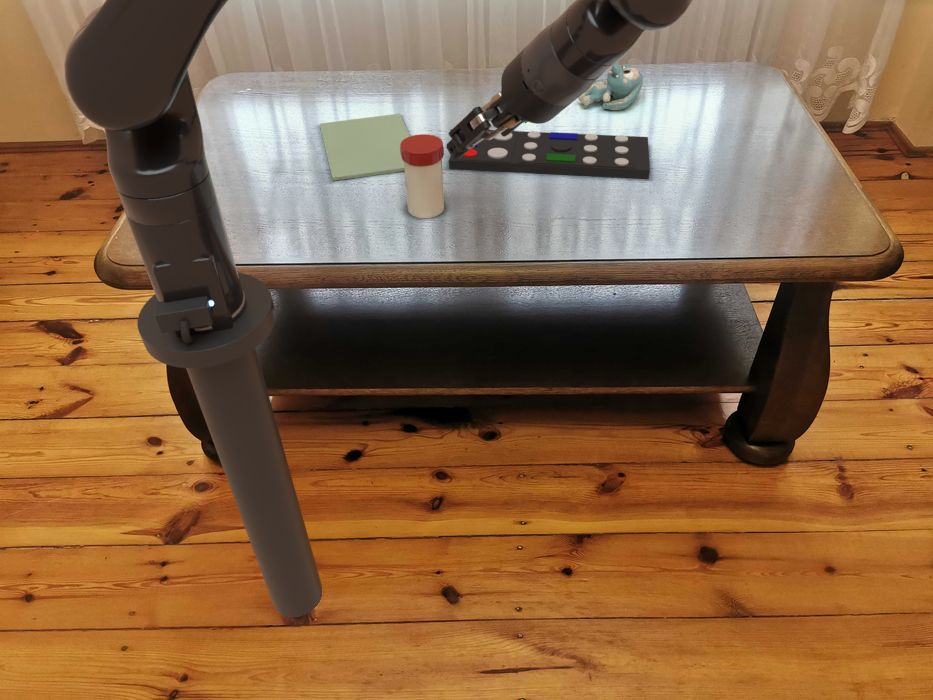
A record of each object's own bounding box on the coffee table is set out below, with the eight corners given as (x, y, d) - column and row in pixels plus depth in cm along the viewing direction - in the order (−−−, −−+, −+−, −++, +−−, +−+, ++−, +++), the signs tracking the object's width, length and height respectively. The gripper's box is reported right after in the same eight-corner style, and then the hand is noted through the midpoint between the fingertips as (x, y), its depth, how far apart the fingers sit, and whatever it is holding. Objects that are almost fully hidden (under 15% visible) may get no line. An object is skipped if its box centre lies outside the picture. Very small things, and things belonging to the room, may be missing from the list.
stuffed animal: (563, 67, 132) (623, 43, 133) (568, 104, 137) (625, 81, 138) (594, 89, 124) (656, 63, 126) (597, 127, 129) (657, 102, 131)
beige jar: (447, 215, 106) (444, 152, 99) (411, 220, 105) (406, 158, 98) (439, 197, 109) (436, 136, 103) (404, 202, 108) (399, 141, 102)
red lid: (447, 162, 100) (447, 150, 99) (405, 168, 99) (404, 155, 98) (438, 144, 104) (437, 131, 103) (397, 149, 103) (396, 137, 102)
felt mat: (423, 168, 116) (422, 165, 116) (332, 181, 114) (332, 177, 113) (400, 116, 131) (399, 113, 130) (320, 126, 128) (319, 123, 128)
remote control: (460, 137, 124) (460, 125, 123) (646, 145, 120) (648, 133, 119) (449, 168, 116) (448, 157, 115) (648, 179, 112) (650, 166, 111)
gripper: (577, 22, 82) (500, 96, 96) (487, 58, 74) (418, 133, 88) (612, 83, 82) (530, 148, 96) (525, 124, 75) (450, 188, 89)
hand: (476, 140), depth 92 cm, fingers open, 8 cm apart
